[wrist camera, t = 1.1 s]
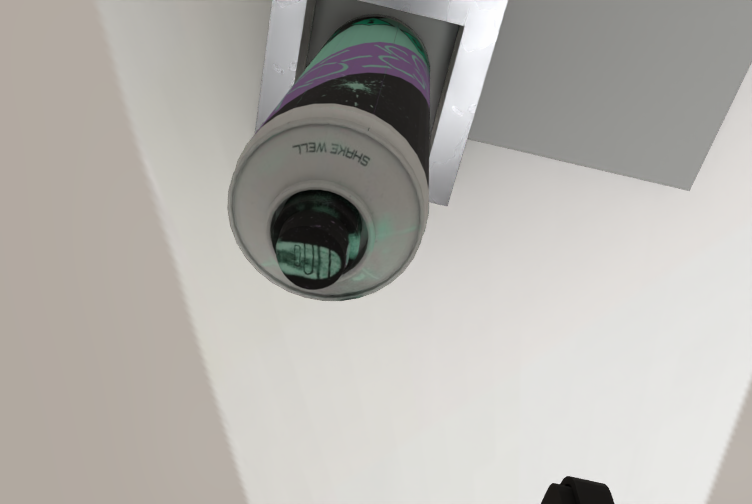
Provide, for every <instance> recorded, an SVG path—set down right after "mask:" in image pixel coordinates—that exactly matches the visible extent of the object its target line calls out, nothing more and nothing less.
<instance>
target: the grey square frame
mask: <svg viewBox="0 0 752 504" xmlns="http://www.w3.org/2000/svg"><path fill="white" fill-rule="evenodd" d="M359 1H363V2H367V3H371V4H375V5H380V6H384V7H388V8H392V9H396V10H400V11H404V12H409V13H413V14H417V15H421V16H425V17H429V18H434V19H438V20H442V21H446V22H450V23H454V24H459V25H460V26H459V30H458V33H457V37H456V41H455V45H454V49H453V52H452V56H451V60H450V64H449V67H448V71H447V75H446V79H445V82H444V86H443V90H442V94H441V97H440V101H439V105H438V109H437V112H436V116H435V120H434V124H433V128H432V131H431V135H430V139H429V202H431V203H435V204H439V205H444V206H448V202H449V199H450V195H451V192H452V189H453V185H454V182H455V178H456V175H457V172H458V168H459V165H460V162H461V158H462V155H463V151H464V148H465V145H466V141H467V138H468V134H469V131H470V128H471V124H472V121H473V117H474V114H475V111H476V107H477V104H478V100H479V97H480V94H481V90H482V87H483V83H484V80H485V77H486V73H487V70H488V66H489V63H490V60H491V56H492V53H493V50H494V46H495V43H496V39H497V36H498V33H499V29H500V26H501V22H502V19H503V16H504V12H505V9H506V5H507V2H508V0H359ZM315 5H316V0H272V7H271V15H270V22H269V30H268V37H267V45H266V52H265V60H264V68H263V75H262V83H261V90H260V98H259V106H258V113H257V121H256V128H255V133H256V132H257V131H258V129H259V128H260V127H261V126H262V124H263V123H264V122H265V121H266V119H267V118H268V117H269V115H270V114H271V113H272V112H273V110H274V109H275V108H276V107H277V105H278V104H279V103H280V101H281V100H282V99H283V98H284V96H285V95H286V94H287V93H288V91H289V90H290V89H291V87H292V86H293V85H294V84H295V82H296V81H297V80H298V78H299V77H300V76H301V75H302V73H303V72H304V71H305V67H306V60H307V54H308V48H309V42H310V36H311V30H312V23H313V17H314V11H315Z"/></svg>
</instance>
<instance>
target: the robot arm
mask: <svg viewBox="0 0 752 504" xmlns="http://www.w3.org/2000/svg"><path fill="white" fill-rule="evenodd" d="M541 504H614V501H613V498H612V495H611V492H610V490H609V488H608V487H607V486H606V485H605V484H603V483H598V482H593V481H589V480H584V479H579V478H575V477H570V476H567V477H565V478H564V479H563V481H562V482H561V484H555V483H552V484H551V485H550V486H549V488H548V490H547V492H546V494H545V496H544V498H543V500H542V502H541Z"/></svg>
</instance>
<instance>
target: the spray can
mask: <svg viewBox="0 0 752 504" xmlns="http://www.w3.org/2000/svg"><path fill="white" fill-rule="evenodd" d="M429 121H430V65H429V60H428V55H427V52H426V50H425V47H424V45H423V43H422V42H421V40H420V39H419V37H418V36H417V34H416V33H415V32H414V31H413V30H412V29H411V28H410V27H409V26H407V25H405V24H404V23H402V22H401V21H399V20H397V19H394V18H392V17H389V16H383V15H366V16H362V17H358V18H355V19H353V20H351V21H349V22H347V23H346V24H344V25H343V26H342V27H340V28H339V29H338V30H337V31H336V32H335V33H334V34H333V35H332V37H331V38H330V39H329V40H328V42H327V43H326V44H325V45H324V47H323V48H322V49H321V50H320V52H319V53H318V54H317V56H316V57H315V58H314V59H313V61H312V62H311V63H310V64H309V66H308V67H307V68H306V70H305V71H304V72H303V73H302V75H301V76H300V77H299V78H298V80H297V81H296V82H295V84H294V85H293V86H292V87H291V89H290V90H289V91H288V93H287V94H286V95H285V96H284V98H283V99H282V100H281V101H280V103H279V104H278V105H277V107H276V108H275V109H274V110H273V112H272V113H271V114H270V115H269V117H268V118H267V119H266V121H265V122H264V123H263V124H262V126H261V127H260V128H259V129H258V131H257V132H256V133H255V135H254V136H253V137H252V138H251V140H250V141H249V142H248V144H247V145H246V147H245V148H244V150H243V152H242V154H241V156H240V158H239V159H238V161H237V165H236V169H235V171H234V173H233V176H232V180H231V184H230V187H229V191H228V214H229V221H230V226H231V229H232V232H233V234H234V237H235V240H236V242H237V244H238V246H239V247H240V249H241V251H242V252H243V254H244V256H245V257H246V259H247V260H248V261H249V262H250V263H251V264H252V265H253V267H254V268H255V269H256V270H257V271H258V272H259V273H261V274H262V275H263V276H264V277H266V278H267V279H268V280H269V281H271V282H272V283H274V284H275V285H277V286H279V287H281V288H283V289H284V290H286V291H288V292H291V293H294V294H297V295H299V296H302V297H305V298H310V299H316V300H322V301H344V300H350V299H356V298H360V297H363V296H366V295H369V294H372V293H374V292H376V291H378V290H380V289H382V288H383V287H385V286H387V285H388V284H390V283H391V282H393V281H394V280H395V279H396V278H397V277H398V276H399V275H400V274H402V273H403V272H404V270H405V269H406V268H407V266H408V265H409V264H410V262H411V261H412V260H413V258H414V256H415V254H416V252H417V250H418V248H419V245H420V243H421V239H422V236H423V234H424V232H425V228H426V223H427V219H428V214H429Z"/></svg>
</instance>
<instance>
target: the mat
mask: <svg viewBox="0 0 752 504" xmlns="http://www.w3.org/2000/svg"><path fill="white" fill-rule="evenodd" d="M751 63H752V0H508V2H507V5H506V9H505V12H504V16H503V19H502V22H501V26H500V29H499V33H498V36H497V39H496V43H495V46H494V50H493V53H492V56H491V60H490V63H489V66H488V70H487V73H486V77H485V80H484V83H483V87H482V90H481V94H480V97H479V100H478V104H477V107H476V111H475V114H474V117H473V121H472V124H471V128H470V131H469V134H468V138H467V139H470V140H474V141H478V142H483V143H487V144H491V145H496V146H500V147H504V148H508V149H513V150H517V151H521V152H525V153H530V154H534V155H538V156H542V157H547V158H551V159H555V160H559V161H564V162H568V163H572V164H577V165H581V166H585V167H589V168H594V169H598V170H602V171H606V172H611V173H615V174H619V175H623V176H628V177H632V178H636V179H640V180H645V181H649V182H653V183H658V184H662V185H666V186H670V187H675V188H679V189H683V190H687V191H690V189H691V187H692V185H693V183H694V180H695V178H696V176H697V174H698V172H699V170H700V168H701V166H702V164H703V162H704V160H705V158H706V156H707V154H708V152H709V149H710V147H711V145H712V143H713V141H714V139H715V137H716V135H717V133H718V131H719V129H720V127H721V125H722V123H723V121H724V118H725V116H726V114H727V112H728V110H729V108H730V106H731V104H732V102H733V100H734V98H735V96H736V94H737V92H738V89H739V87H740V85H741V83H742V81H743V79H744V77H745V75H746V73H747V71H748V69H749V67H750V65H751Z"/></svg>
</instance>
